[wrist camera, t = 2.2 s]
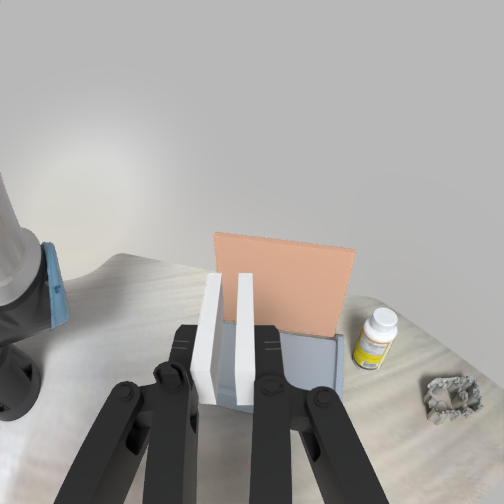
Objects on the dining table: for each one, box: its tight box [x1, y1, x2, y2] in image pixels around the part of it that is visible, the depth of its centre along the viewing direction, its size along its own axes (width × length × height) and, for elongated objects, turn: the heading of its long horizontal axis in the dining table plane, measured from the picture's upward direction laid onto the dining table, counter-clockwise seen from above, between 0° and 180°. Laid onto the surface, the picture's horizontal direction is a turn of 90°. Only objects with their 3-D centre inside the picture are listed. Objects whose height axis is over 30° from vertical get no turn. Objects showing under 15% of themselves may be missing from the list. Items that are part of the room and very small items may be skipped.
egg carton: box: [423, 375, 483, 425], centre depth 29 cm, size 11×8×4 cm
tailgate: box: [214, 232, 355, 337], centre depth 40 cm, size 19×1×16 cm, turn 76°
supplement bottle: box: [353, 308, 397, 371], centre depth 38 cm, size 6×6×10 cm
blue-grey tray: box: [198, 322, 344, 414], centre depth 39 cm, size 22×15×4 cm
